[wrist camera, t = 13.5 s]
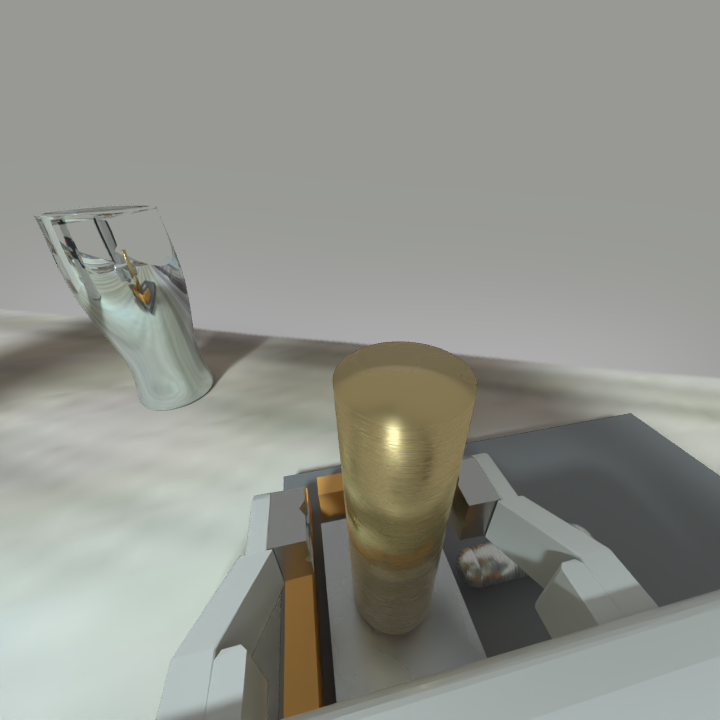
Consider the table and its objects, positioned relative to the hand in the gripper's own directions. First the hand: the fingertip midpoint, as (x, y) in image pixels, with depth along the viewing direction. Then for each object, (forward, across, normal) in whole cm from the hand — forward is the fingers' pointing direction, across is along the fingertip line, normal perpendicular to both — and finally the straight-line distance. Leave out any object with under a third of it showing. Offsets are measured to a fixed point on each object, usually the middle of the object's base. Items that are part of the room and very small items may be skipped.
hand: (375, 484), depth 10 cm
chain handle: (-1, +4, -6) cm, 7 cm away
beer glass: (+19, -14, -8) cm, 25 cm away
